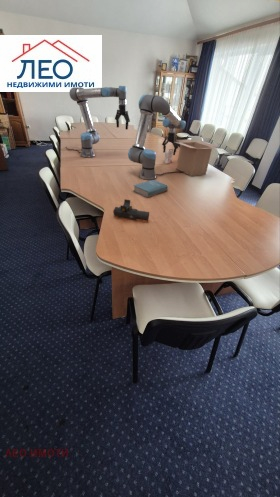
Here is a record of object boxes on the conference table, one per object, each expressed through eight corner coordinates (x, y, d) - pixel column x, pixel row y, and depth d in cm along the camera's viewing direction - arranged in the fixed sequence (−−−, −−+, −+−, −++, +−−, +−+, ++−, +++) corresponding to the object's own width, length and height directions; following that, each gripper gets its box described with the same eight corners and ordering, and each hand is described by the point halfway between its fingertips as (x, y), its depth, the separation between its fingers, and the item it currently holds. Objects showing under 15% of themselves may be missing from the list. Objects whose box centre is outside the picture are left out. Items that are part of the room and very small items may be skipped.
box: (218, 176, 220) (226, 147, 204) (190, 180, 206) (196, 149, 190) (191, 164, 250) (196, 137, 234) (164, 166, 236) (168, 138, 220)
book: (152, 185, 190) (153, 179, 187) (167, 191, 181) (167, 185, 178) (133, 191, 176) (133, 185, 173) (147, 198, 167) (148, 191, 164)
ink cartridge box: (168, 161, 255) (170, 147, 246) (171, 162, 252) (173, 148, 243) (163, 162, 249) (165, 148, 241) (167, 163, 247) (169, 149, 238)
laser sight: (146, 224, 135) (147, 209, 129) (111, 219, 138) (111, 204, 132) (149, 217, 143) (150, 203, 137) (115, 212, 146) (115, 198, 140)
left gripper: (111, 103, 227) (111, 126, 239) (128, 106, 214) (128, 130, 227) (116, 103, 231) (116, 126, 244) (133, 106, 219) (133, 129, 231)
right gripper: (160, 130, 237) (158, 151, 249) (179, 134, 224) (176, 156, 237) (164, 130, 241) (162, 150, 254) (183, 134, 229) (180, 155, 241)
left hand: (122, 128), depth 235 cm, fingers open, 13 cm apart
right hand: (169, 153), depth 245 cm, fingers open, 13 cm apart
